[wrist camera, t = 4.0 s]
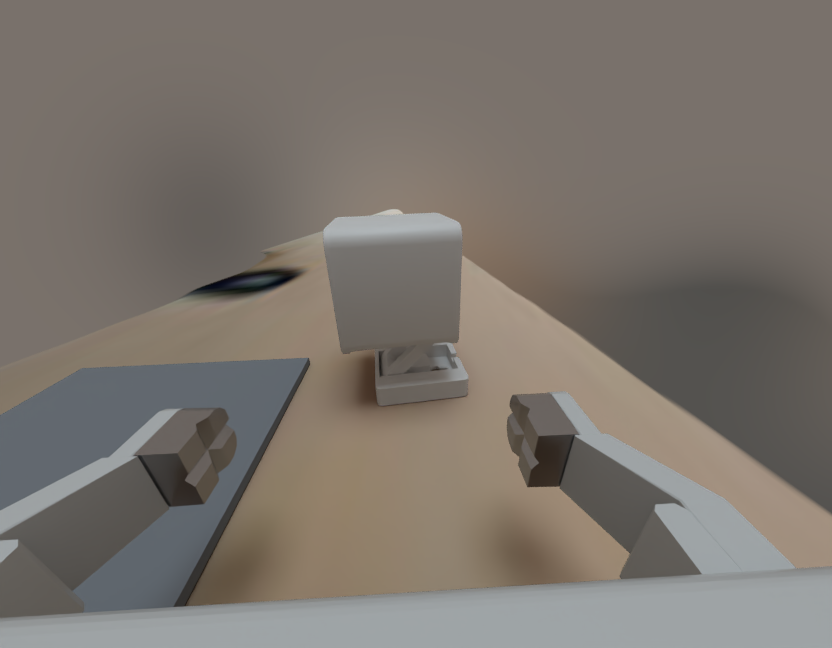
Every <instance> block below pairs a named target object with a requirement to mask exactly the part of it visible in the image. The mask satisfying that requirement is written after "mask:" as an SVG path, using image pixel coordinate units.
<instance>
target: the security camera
mask: <svg viewBox="0 0 832 648" xmlns="http://www.w3.org/2000/svg"><path fill="white" fill-rule="evenodd" d="M323 244H324V251H325V257H326V263H327V269H328V275H329V281H330V287H331V293H332V299H333V305H334V311H335V317H336V323H337V329H338V335H339V341H340V347H341V351H342V353H343V354H348V353H350V352H354V351H362V350H372V349H375V387H376V395H377V404H378V405H379V406H386V405H395V404H403V403H412V402H420V401H429V400H437V399H446V398H454V397H463V396H466V395H467V394H468V375H467V373H466V371H465V369H464V367H463V365H462V363H461V361H460V359H459V357H456V351H455V349H454V347H453V345H452V343H457V342H458V339H459V321H460V293H461V266H462V229H461V226H460V223H459V222H457V221H455V220H453V219H451V218H448V217H446V216H443V215H441V214H439V213H421V214H399V215H378V216H359V217H358V216H357V217H336V218H335V219H334V220H333V221H332V222H331V223H330V224H329V225H328V226H326V227H325V228H324V230H323ZM433 369H439V370H437V371H431V370H433Z"/></svg>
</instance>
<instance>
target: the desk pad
mask: <svg viewBox="0 0 832 648" xmlns="http://www.w3.org/2000/svg"><path fill="white" fill-rule="evenodd" d="M309 365H310V361H309V358H294V359H273V360H251V361H230V362H208V363H187V364H165V365H143V366H122V367H100V368H82V369H80V370H78V371H76V372H75V373H73V374H71V375H69V376H68V377H66V378H64V379H62V380H61V381H59V382H57V383H55V384H54V385H52V386H50V387H48V388H47V389H45V390H43V391H42V392H40V393H38V394H36V395H35V396H33V397H31V398H29V399H28V400H26V401H24V402H22V403H21V404H19V405H17V406H15V407H14V408H12V409H10V410H8V411H7V412H5V413H3V414H1V415H0V510H2V509H4V508H6V507H8V506H10V505H12V504H14V503H16V502H18V501H20V500H22V499H24V498H26V497H27V496H29V495H31V494H33V493H35V492H37V491H39V490H41V489H43V488H45V487H47V486H49V485H51V484H53V483H55V482H56V481H58V480H60V479H62V478H64V477H66V476H68V475H70V474H72V473H74V472H76V471H78V470H80V469H82V468H84V467H85V466H87V465H89V464H91V463H93V462H95V461H97V460H99V459H101V458H109V457H110V456H111V455H112V454H113V453H114V452H115V451H116V450H117V449H118V448H120V447H121V446H122V445H123V444H124V443H125V442H126V441H127V440H128V439H129V438H130V437H132V436H133V435H134V434H135V433H136V432H137V431H138V430H139V429H140V428H141V427H142V426H144V425H145V424H146V423H147V422H148V421H149V420H150V419H151V418H152V417H153V416H154V415H156V414H157V413H158V412H159V411H162V410H165V409H184V408H219V407H220V408H223V409H225V410H226V412H227V414H228V416H229V420H228V422H227V424H226V425H228V426H229V427H230V428H232V429H233V430H234V432H235V434H236V437H237V447H236V451H235V455H234V457H233V459H232V460H231V462H230V464H229V465H228V466H227V467H226V468H224V469H223V470H222V471H220V472H219V473H218V475H219V482H218V483H217V485H216V486H215V488H214V490H213V491H212V493H211V494H210V496H209V498H208V499H207V501H206V502H205V504H201V505H189V506H177V507H169V508H170V509H169V510H168V511H167V512H165V513H164V514H163V515H162V516H161V517H159V518H158V519H157V520H156V521H155V522H154V523H152V524H151V525H150V526H149V527H148V528H146V529H145V530H144V531H143V532H142V533H141V534H139V535H138V536H137V537H136V538H135V539H133V540H132V541H131V542H130V543H129V544H128V545H126V546H125V547H124V548H123V549H122V550H120V551H119V552H118V553H117V554H116V555H114V556H113V557H112V558H111V559H110V560H109V561H107V562H106V563H105V564H104V565H103V566H101V567H100V568H99V569H98V570H97V571H96V572H94V573H93V574H92V575H91V576H90V577H88V578H87V579H86V580H85V581H84V582H83V583H81V584H80V585H79V586H78V587H77V588H75V589H74V590H73V592H74V593H75V594H76V595H77V596H78V597H79V598H80V599H81V600H82V601H83V602H84V611H83V612H82V613H88V612H104V611H119V610H135V609H151V608H167V607H183V606H185V604H186V602H187V600H188V598H189V596H190V594H191V592H192V590H193V588H194V586H195V584H196V583H197V581H198V579H199V577H200V575H201V573H202V571H203V569H204V567H205V565H206V563H207V561H208V559H209V557H210V556H211V554H212V552H213V550H214V548H215V546H216V544H217V542H218V540H219V538H220V536H221V534H222V532H223V531H224V529H225V527H226V525H227V523H228V521H229V519H230V517H231V515H232V513H233V511H234V509H235V507H236V505H237V504H238V502H239V500H240V498H241V496H242V494H243V492H244V490H245V488H246V486H247V484H248V482H249V480H250V478H251V477H252V475H253V473H254V471H255V469H256V467H257V465H258V463H259V461H260V459H261V457H262V455H263V453H264V451H265V450H266V448H267V446H268V444H269V442H270V440H271V438H272V436H273V434H274V432H275V430H276V428H277V426H278V424H279V423H280V421H281V419H282V417H283V415H284V413H285V411H286V409H287V407H288V405H289V403H290V401H291V399H292V398H293V396H294V394H295V392H296V390H297V388H298V386H299V384H300V382H301V380H302V378H303V376H304V374H305V372H306V371H307V369H308V367H309Z"/></svg>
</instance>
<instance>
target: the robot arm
mask: <svg viewBox="0 0 832 648" xmlns="http://www.w3.org/2000/svg"><path fill="white" fill-rule="evenodd" d="M510 408H511V410H512V412H513V413H512V414H511V415H510V416H509V417H508V420H507V436H508V440H509V444H510V446H511V449H512V451H513V452H514V453H515V454H517V455H518V456H519V463H518V466H519V468H520V471H521V473H522V475H523V478H524V480H525V483H526V485H527V487H557V486H560V489H561V490H562V491H563V492H564V493H565V494H566V495H568V496H569V497H570V498H571V499H572V500H573V501H574V502H575V503H576V504H577V505H578V506H579V507H581V508H582V509H583V510H584V511H585V512H586V513H587V514H588V515H589V516H590V517H591V518H592V519H593V520H595V521H596V522H597V523H598V524H599V525H600V526H601V527H602V528H603V529H604V530H605V531H606V532H608V533H609V534H610V535H611V536H612V537H613V538H614V539H615V540H616V541H617V542H618V543H619V544H620V545H622V546H623V547H624V548H625V549H626V550H627V551H628V552H629V553H630V555H629V557H628V559H627V561H626V563H625V565H624V567H623V568H622V571H621V574H620V578H621V579H617V580H601V581H584V582H568V583H552V584H536V585H520V586H504V587H487V588H471V589H455V590H439V591H423V592H407V593H391V594H374V595H358V596H342V597H326V598H310V599H294V600H278V601H262V602H246V603H230V604H214V605H199V606H183V607H167V608H151V609H135V610H119V611H104V612H88V613H82V612H83V611H84V602H83V601H82V600H81V599H80V598H79V597H78V596H77V595H76V594H75V593H74V592H73V590H74V589H75V588H77V587H78V586H79V585H80V584H81V583H83V582H84V581H85V580H86V579H87V578H88V577H90V576H91V575H92V574H93V573H94V572H96V571H97V570H98V569H99V568H100V567H101V566H103V565H104V564H105V563H106V562H107V561H109V560H110V559H111V558H112V557H113V556H114V555H116V554H117V553H118V552H119V551H120V550H122V549H123V548H124V547H125V546H126V545H128V544H129V543H130V542H131V541H132V540H133V539H135V538H136V537H137V536H138V535H139V534H141V533H142V532H143V531H144V530H145V529H146V528H148V527H149V526H150V525H151V524H152V523H154V522H155V521H156V520H157V519H158V518H159V517H161V516H162V515H163V514H164V513H165V512H167V511H168V510H169V509H170V508H169V507H177V506H189V505H201V504H205V502H206V501H207V499H208V498H209V496H210V494H211V493H212V491H213V490H214V488H215V486H216V485H217V483H218V482H219V475H218V473H219V472H220V471H222V470H223V469H224V468H226V467H227V466H228V465H229V464H230V462H231V460H232V459H233V457H234V455H235V451H236V447H237V437H236V434H235V432H234V430H233V429H232V428H230V427H229V426H228V425H226V424H227V422H228V420H229V416H228V414H227V412H226V410H225V409H223V408H220V407H219V408H184V409H165V410H162V411H159V412H158V413H157V414H156V415H154V416H153V417H152V418H151V419H150V420H149V421H148V422H147V423H146V424H145V425H144V426H142V427H141V428H140V429H139V430H138V431H137V432H136V433H135V434H134V435H133V436H132V437H130V438H129V439H128V440H127V441H126V442H125V443H124V444H123V445H122V446H121V447H120V448H118V449H117V450H116V451H115V452H114V453H113V454H112V455H111V456H110V457H109V458H101V459H99V460H97V461H95V462H93V463H91V464H89V465H87V466H85V467H84V468H82V469H80V470H78V471H76V472H74V473H72V474H70V475H68V476H66V477H64V478H62V479H60V480H58V481H56V482H55V483H53V484H51V485H49V486H47V487H45V488H43V489H41V490H39V491H37V492H35V493H33V494H31V495H29V496H27V497H26V498H24V499H22V500H20V501H18V502H16V503H14V504H12V505H10V506H8V507H6V508H4V509H2V510H0V648H832V566H827V567H811V568H796V567H795V566H794V565H793V564H792V563H790V562H789V561H788V560H787V559H786V558H785V557H784V556H783V555H782V554H781V553H780V552H779V551H778V550H777V549H776V548H775V547H774V546H773V545H772V544H771V543H770V542H769V541H768V540H767V539H766V538H765V537H764V536H763V535H762V534H761V533H760V532H759V531H758V530H757V529H756V528H755V527H754V526H753V525H751V524H750V523H749V522H748V521H747V520H746V519H745V518H744V517H743V516H742V515H741V514H740V513H739V512H738V511H737V510H736V509H735V508H734V507H733V506H732V505H731V504H730V503H729V502H728V501H727V500H726V499H724V498H722V497H721V496H719V495H717V494H715V493H713V492H712V491H710V490H708V489H706V488H704V487H703V486H701V485H699V484H697V483H695V482H694V481H692V480H690V479H688V478H686V477H685V476H683V475H681V474H679V473H677V472H676V471H674V470H672V469H670V468H668V467H667V466H665V465H663V464H661V463H659V462H657V461H656V460H654V459H652V458H650V457H648V456H647V455H645V454H643V453H641V452H639V451H638V450H636V449H634V448H632V447H630V446H629V445H627V444H625V443H623V442H621V441H620V440H618V439H616V438H614V437H612V436H611V435H609V434H601V433H600V431H599V430H598V429H597V428H596V426H595V425H594V424H593V423H592V421H591V420H590V419H589V418H588V417H587V415H586V414H585V413H584V412H583V410H582V409H581V408H580V407H579V405H578V404H577V403H576V402H575V400H574V399H573V398H572V397H571V396H570V394H569V393H567V392H565V391H564V392H548V393H537V394H517V395H512V397H511V400H510Z"/></svg>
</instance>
